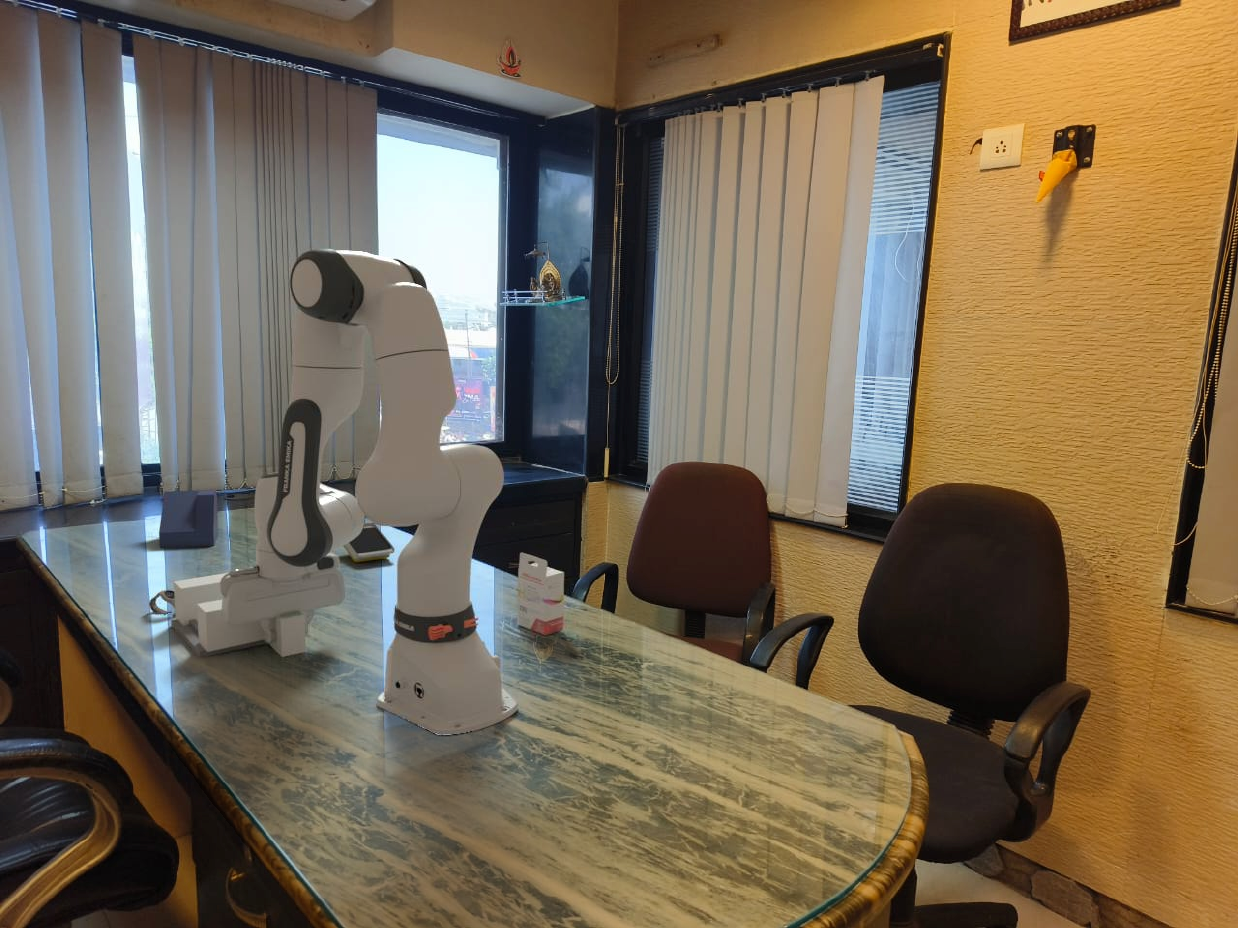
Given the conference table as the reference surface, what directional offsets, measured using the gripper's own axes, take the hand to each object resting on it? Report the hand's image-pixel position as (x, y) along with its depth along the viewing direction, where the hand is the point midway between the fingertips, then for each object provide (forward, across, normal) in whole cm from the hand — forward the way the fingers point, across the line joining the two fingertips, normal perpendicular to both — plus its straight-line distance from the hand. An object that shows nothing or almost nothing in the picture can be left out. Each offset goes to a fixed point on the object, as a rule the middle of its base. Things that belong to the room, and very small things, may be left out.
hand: (286, 637), depth 139 cm
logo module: (+2, 0, 0) cm, 2 cm away
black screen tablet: (-2, +37, +54) cm, 65 cm away
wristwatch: (+2, -12, +30) cm, 32 cm away
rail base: (+2, -7, +13) cm, 15 cm away
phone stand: (+2, +6, +83) cm, 84 cm away
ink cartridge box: (+2, +42, -18) cm, 46 cm away
